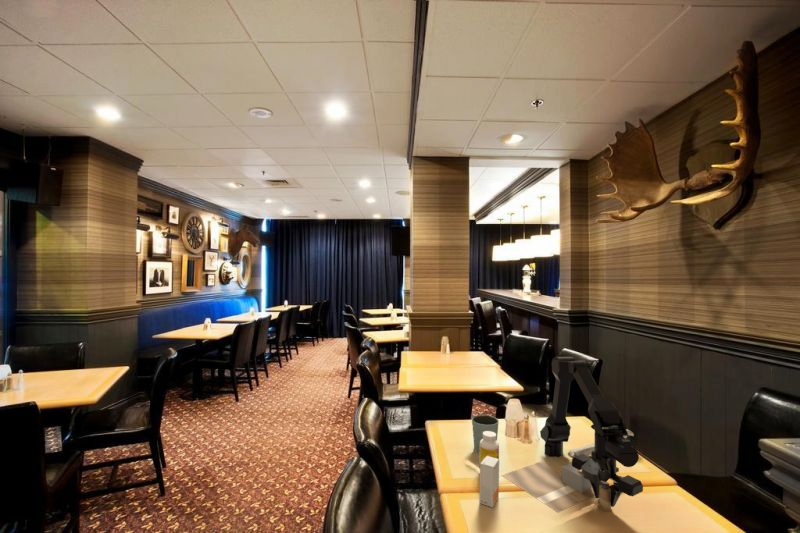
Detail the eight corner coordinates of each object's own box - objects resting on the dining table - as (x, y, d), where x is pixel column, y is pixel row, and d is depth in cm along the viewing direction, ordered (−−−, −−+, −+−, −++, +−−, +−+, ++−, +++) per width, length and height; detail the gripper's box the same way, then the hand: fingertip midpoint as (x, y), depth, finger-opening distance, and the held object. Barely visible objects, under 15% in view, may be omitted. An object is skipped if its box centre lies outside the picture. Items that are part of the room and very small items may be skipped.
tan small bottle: (603, 503, 114) (603, 479, 114) (613, 508, 111) (613, 484, 111) (596, 506, 112) (596, 481, 112) (606, 512, 109) (607, 487, 109)
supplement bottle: (499, 476, 127) (499, 438, 128) (479, 474, 129) (479, 436, 129) (498, 466, 134) (498, 430, 134) (479, 464, 135) (479, 428, 136)
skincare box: (492, 508, 110) (493, 467, 111) (479, 503, 113) (479, 463, 113) (499, 497, 116) (499, 458, 116) (485, 493, 118) (486, 455, 118)
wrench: (568, 465, 141) (631, 446, 149) (572, 468, 140) (635, 449, 148) (566, 444, 141) (629, 427, 149) (570, 446, 139) (633, 428, 148)
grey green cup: (501, 448, 148) (502, 418, 148) (493, 459, 139) (493, 426, 139) (477, 442, 153) (477, 412, 153) (467, 452, 145) (467, 420, 145)
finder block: (571, 478, 125) (571, 461, 125) (591, 488, 119) (591, 471, 119) (562, 482, 123) (562, 465, 123) (581, 493, 116) (581, 475, 117)
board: (542, 464, 136) (542, 461, 136) (600, 496, 117) (600, 492, 117) (501, 478, 126) (501, 475, 126) (557, 516, 107) (557, 512, 107)
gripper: (560, 442, 116) (559, 493, 116) (621, 471, 100) (620, 530, 99) (583, 435, 121) (582, 483, 121) (644, 461, 105) (643, 517, 105)
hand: (604, 502), depth 112 cm, fingers open, 4 cm apart
